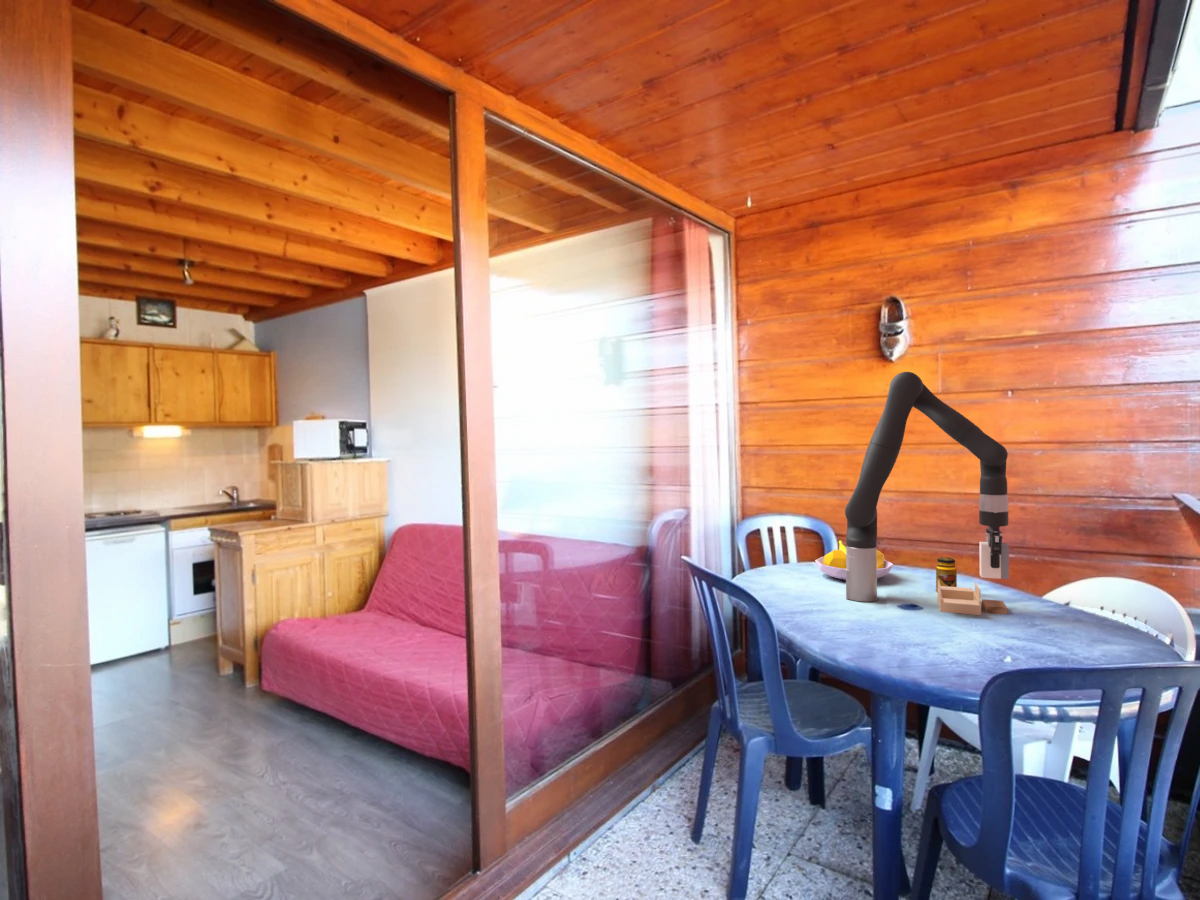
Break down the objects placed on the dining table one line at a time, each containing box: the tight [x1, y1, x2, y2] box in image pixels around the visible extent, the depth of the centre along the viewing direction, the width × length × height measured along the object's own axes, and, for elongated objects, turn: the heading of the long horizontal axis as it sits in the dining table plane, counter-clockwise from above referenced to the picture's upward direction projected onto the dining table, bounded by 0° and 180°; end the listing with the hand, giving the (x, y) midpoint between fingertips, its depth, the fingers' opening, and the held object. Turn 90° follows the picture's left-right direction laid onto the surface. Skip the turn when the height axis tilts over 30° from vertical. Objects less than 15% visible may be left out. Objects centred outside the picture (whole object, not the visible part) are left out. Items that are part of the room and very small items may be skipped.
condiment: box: [934, 557, 958, 593], centre depth 215 cm, size 7×8×12 cm
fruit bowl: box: [814, 540, 894, 581], centre depth 241 cm, size 28×27×11 cm
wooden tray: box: [936, 580, 982, 616], centre depth 197 cm, size 11×21×8 cm, turn 156°
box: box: [978, 541, 1010, 580], centre depth 193 cm, size 7×4×10 cm, turn 66°
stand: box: [981, 598, 1008, 615], centre depth 194 cm, size 6×8×2 cm
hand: (993, 565), depth 193 cm, fingers closed on box, 4 cm apart
